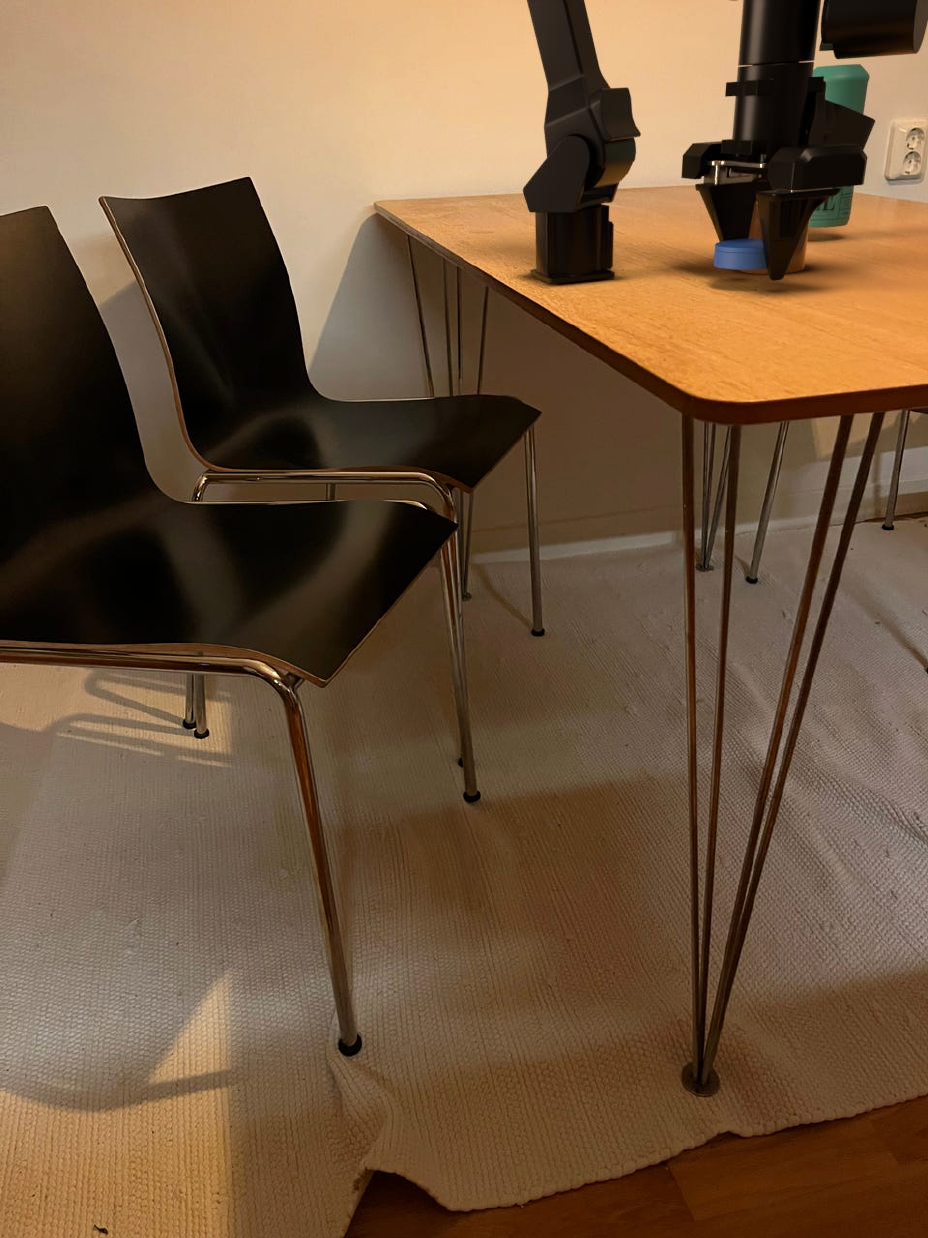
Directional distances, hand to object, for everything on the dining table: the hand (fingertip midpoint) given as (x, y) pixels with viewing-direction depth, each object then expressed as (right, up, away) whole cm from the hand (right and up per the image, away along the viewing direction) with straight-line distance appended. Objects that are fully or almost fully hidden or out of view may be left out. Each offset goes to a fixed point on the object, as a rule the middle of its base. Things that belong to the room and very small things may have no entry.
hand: (755, 274), depth 80 cm
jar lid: (-1, +2, -1) cm, 2 cm away
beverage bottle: (+14, +12, +22) cm, 29 cm away
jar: (+4, +3, +7) cm, 9 cm away
